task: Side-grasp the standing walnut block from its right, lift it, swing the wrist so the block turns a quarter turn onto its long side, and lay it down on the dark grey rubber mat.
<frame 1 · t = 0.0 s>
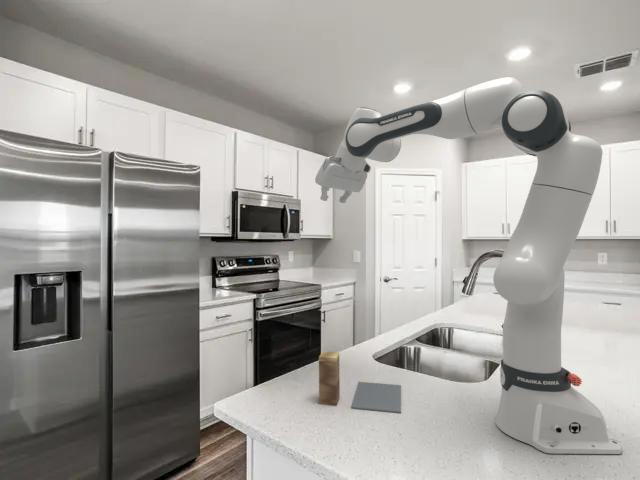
hand: (332, 201, 116), 54 cm above the counter, tool tilted 30°, fingers open, 8 cm apart
mat: (377, 396, 95), on the counter
block: (329, 401, 93), on the counter
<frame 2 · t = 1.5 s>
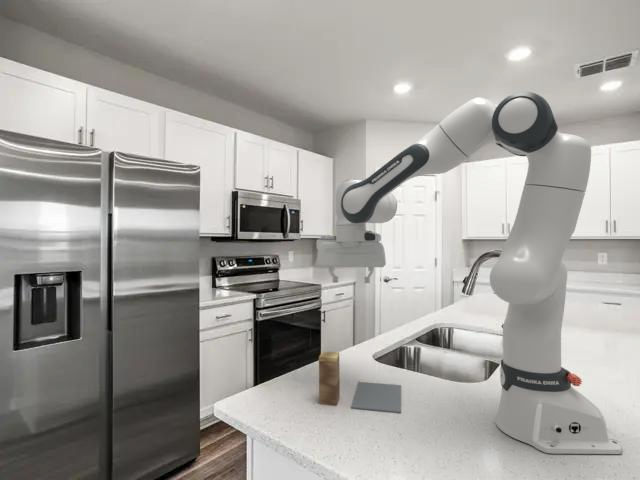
hand: (351, 282, 106), 29 cm above the counter, tool pointing down, fingers open, 8 cm apart
nothing on the counter moved.
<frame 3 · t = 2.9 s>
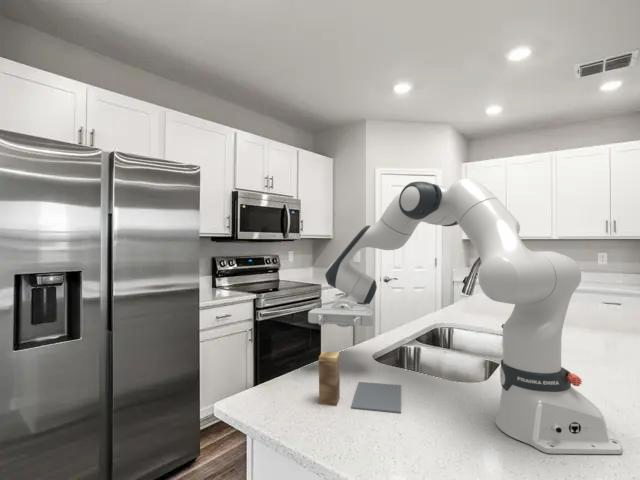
hand: (336, 322, 105), 17 cm above the counter, tool horizontal, fingers open, 8 cm apart
nothing on the counter moved.
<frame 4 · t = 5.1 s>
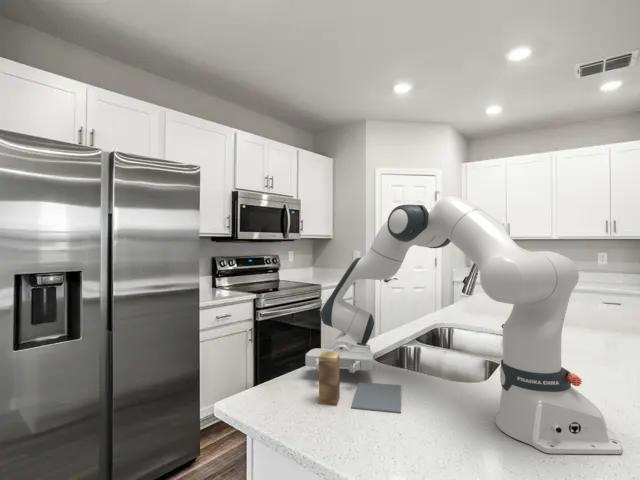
hand: (335, 368, 100), 6 cm above the counter, tool horizontal, fingers open, 8 cm apart
nothing on the counter moved.
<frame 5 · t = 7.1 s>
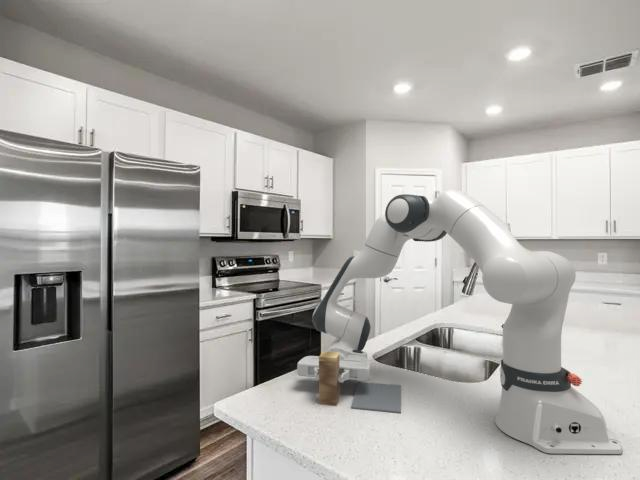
hand: (328, 378, 92), 6 cm above the counter, tool horizontal, fingers closed on block, 4 cm apart
block: (329, 400, 93), on the counter, touching gripper
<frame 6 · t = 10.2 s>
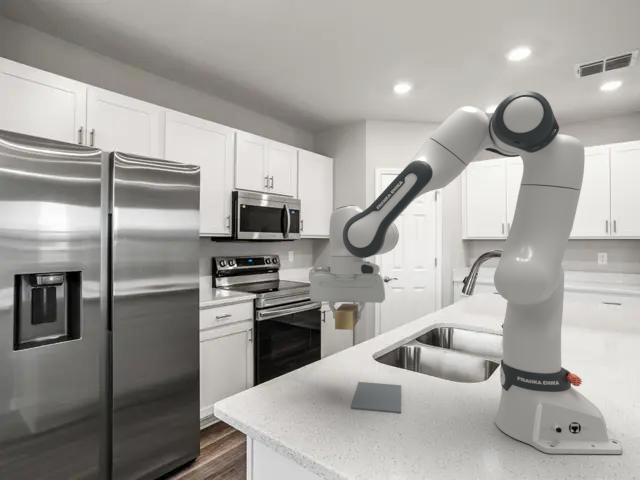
hand: (347, 318, 96), 21 cm above the counter, tool pointing down, fingers closed on block, 4 cm apart
block: (350, 311, 102), point 21 cm above the counter, tilted 90°, touching gripper
when the fingers open (3 cm above the counter, at t = 13.9 s): block drops 1 cm, resting on mat.
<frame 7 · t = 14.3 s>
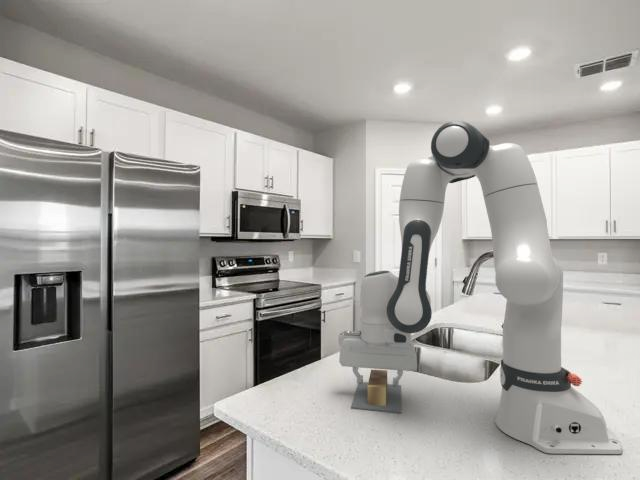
hand: (377, 384, 95), 3 cm above the counter, tool pointing down, fingers open, 8 cm apart
block: (379, 378, 101), point 3 cm above the counter, tilted 90°, touching mat
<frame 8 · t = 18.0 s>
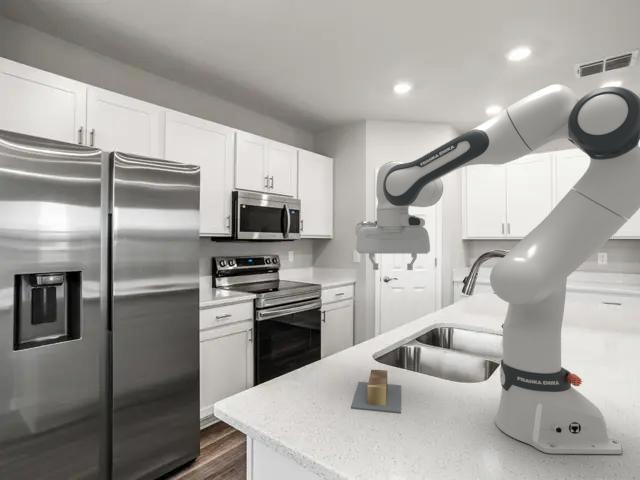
hand: (392, 269, 101), 33 cm above the counter, tool pointing down, fingers open, 8 cm apart
nothing on the counter moved.
at the end: block tilted 90°; block inside the target area on the mat (6.2 cm from its centre), point 2.6 cm above the mat's base; the gripper is holding nothing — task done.
